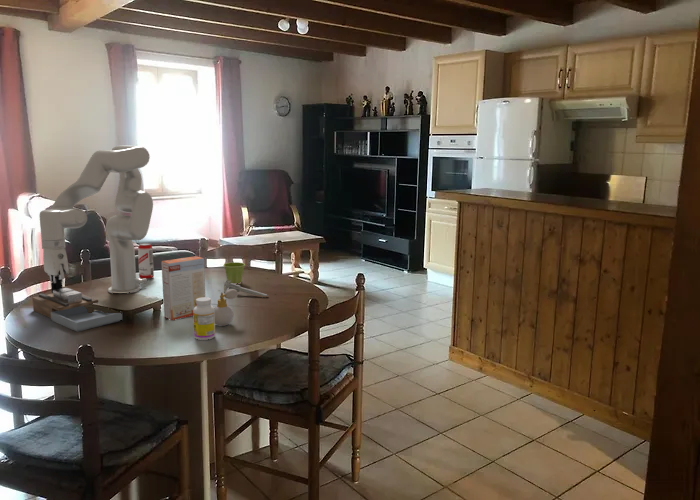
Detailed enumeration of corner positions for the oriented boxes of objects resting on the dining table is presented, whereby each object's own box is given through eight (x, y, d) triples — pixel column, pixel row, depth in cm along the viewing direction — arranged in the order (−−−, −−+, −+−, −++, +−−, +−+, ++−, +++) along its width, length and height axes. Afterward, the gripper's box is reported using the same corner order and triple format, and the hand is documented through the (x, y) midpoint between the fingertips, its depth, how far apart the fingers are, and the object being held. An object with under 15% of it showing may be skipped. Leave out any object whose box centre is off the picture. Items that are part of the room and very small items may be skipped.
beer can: (149, 280, 251) (147, 245, 248) (136, 279, 252) (134, 244, 249) (156, 277, 257) (155, 243, 254) (144, 276, 258) (142, 242, 255)
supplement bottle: (196, 333, 183) (194, 296, 181) (216, 333, 184) (215, 296, 181) (192, 341, 176) (190, 301, 174) (213, 340, 177) (212, 301, 175)
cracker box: (198, 309, 209) (196, 255, 205) (206, 313, 205) (205, 257, 201) (163, 317, 199) (160, 260, 196) (171, 321, 195) (168, 263, 191)
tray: (95, 310, 205) (95, 302, 205) (122, 320, 195) (122, 312, 194) (51, 320, 193) (50, 312, 192) (77, 331, 182) (76, 323, 182)
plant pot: (242, 286, 245) (242, 267, 243) (221, 285, 245) (221, 266, 243) (247, 281, 254) (246, 262, 252) (226, 280, 254) (226, 262, 253)
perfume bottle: (207, 327, 190) (206, 293, 188) (221, 318, 199) (220, 286, 197) (227, 329, 188) (226, 295, 186) (240, 320, 197) (239, 288, 195)
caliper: (223, 294, 232) (223, 279, 231) (224, 293, 233) (224, 279, 232) (269, 298, 227) (269, 283, 226) (270, 298, 228) (270, 283, 227)
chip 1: (67, 295, 206) (66, 287, 205) (74, 298, 203) (73, 290, 202) (53, 298, 202) (52, 290, 201) (60, 300, 199) (59, 292, 198)
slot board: (71, 302, 214) (70, 288, 213) (98, 313, 202) (97, 297, 201) (33, 310, 203) (32, 295, 202) (59, 322, 191) (58, 305, 190)
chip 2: (75, 298, 202) (74, 290, 202) (82, 301, 199) (81, 292, 199) (61, 301, 198) (60, 293, 198) (68, 304, 195) (67, 295, 195)
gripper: (73, 245, 200) (77, 294, 203) (54, 240, 209) (58, 287, 213) (52, 247, 194) (56, 298, 198) (33, 242, 203) (37, 291, 207)
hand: (57, 292), depth 205 cm, fingers closed
